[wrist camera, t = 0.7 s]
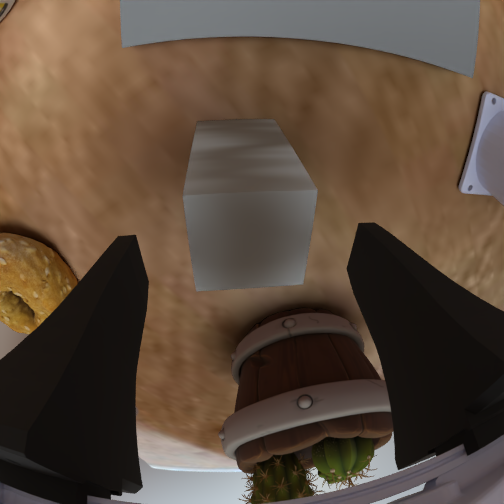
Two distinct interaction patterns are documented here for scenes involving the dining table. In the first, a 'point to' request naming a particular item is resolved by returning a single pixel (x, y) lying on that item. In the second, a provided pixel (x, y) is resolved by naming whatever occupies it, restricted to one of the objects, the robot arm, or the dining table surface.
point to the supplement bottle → (5, 7)
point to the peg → (247, 206)
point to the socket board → (318, 24)
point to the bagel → (30, 282)
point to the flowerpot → (304, 405)
